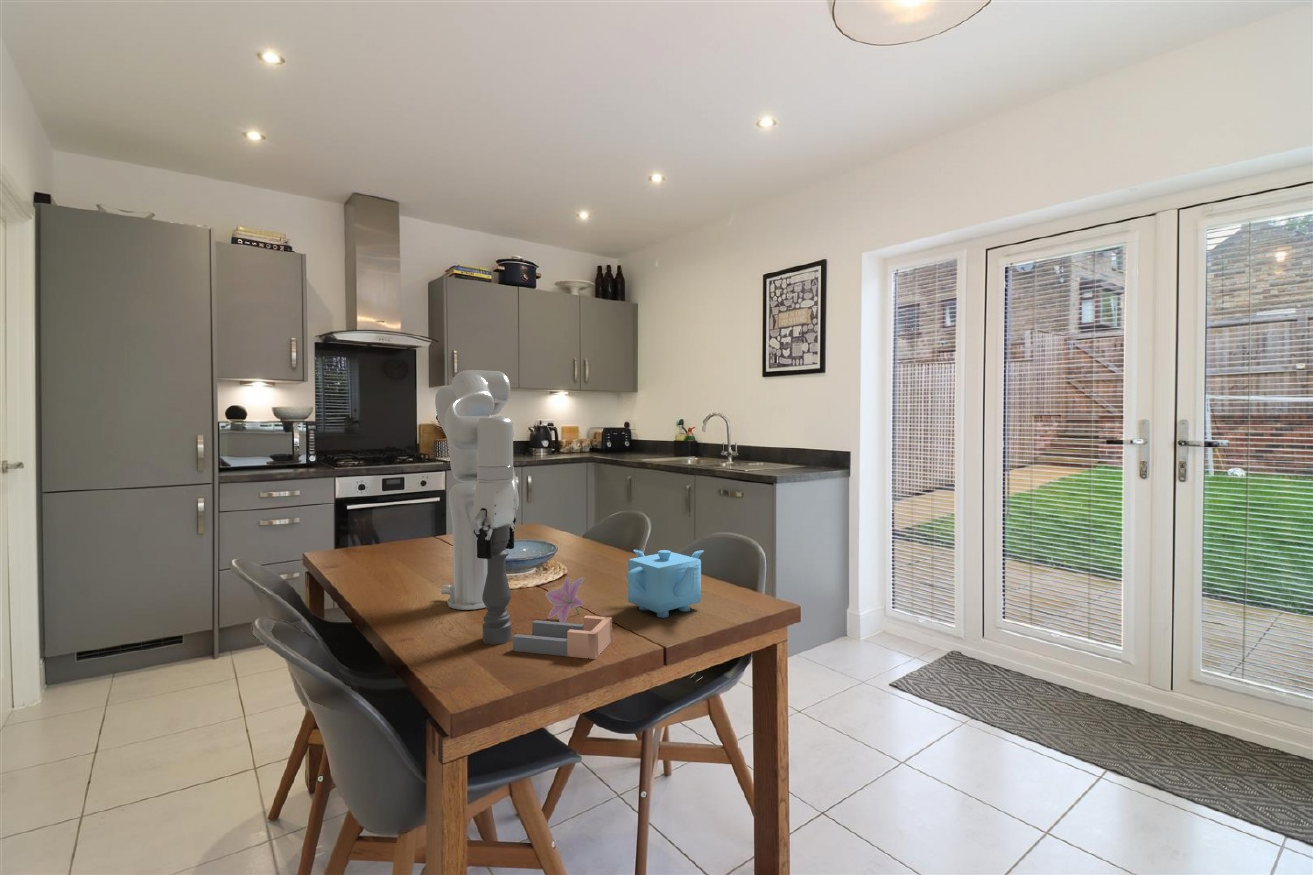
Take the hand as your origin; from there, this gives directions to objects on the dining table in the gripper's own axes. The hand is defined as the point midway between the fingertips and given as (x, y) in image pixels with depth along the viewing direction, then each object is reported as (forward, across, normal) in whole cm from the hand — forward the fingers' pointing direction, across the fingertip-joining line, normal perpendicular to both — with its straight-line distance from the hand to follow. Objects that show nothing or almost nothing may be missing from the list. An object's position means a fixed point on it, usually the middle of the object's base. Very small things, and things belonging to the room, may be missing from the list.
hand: (496, 553), depth 132 cm
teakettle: (+19, -30, +31) cm, 47 cm away
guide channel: (+19, 0, +16) cm, 24 cm away
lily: (+19, -17, +9) cm, 27 cm away
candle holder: (+19, 0, 0) cm, 19 cm away
